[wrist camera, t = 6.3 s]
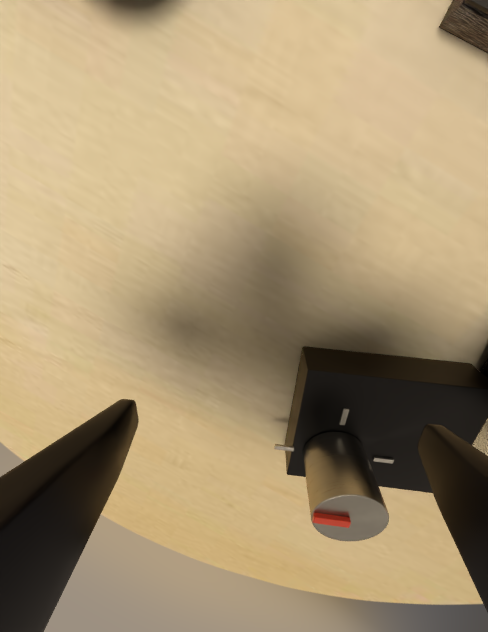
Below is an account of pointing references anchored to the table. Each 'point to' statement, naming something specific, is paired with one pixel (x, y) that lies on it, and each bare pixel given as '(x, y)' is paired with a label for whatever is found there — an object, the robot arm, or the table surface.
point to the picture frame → (468, 21)
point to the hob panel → (383, 408)
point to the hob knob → (342, 488)
